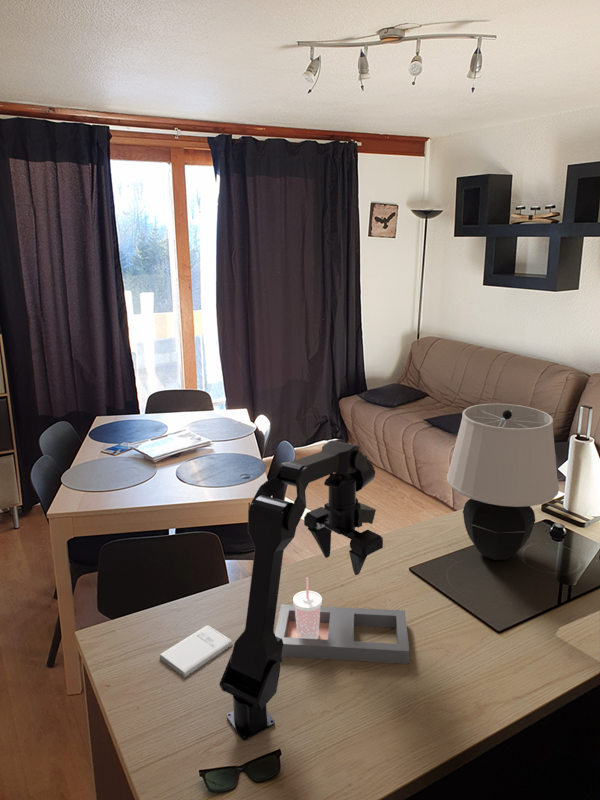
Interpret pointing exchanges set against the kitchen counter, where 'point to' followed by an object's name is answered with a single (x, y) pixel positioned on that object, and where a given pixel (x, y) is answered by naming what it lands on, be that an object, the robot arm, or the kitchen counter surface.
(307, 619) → the beverage cup
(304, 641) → the cup caddy
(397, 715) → the kitchen counter surface
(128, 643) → the kitchen counter surface
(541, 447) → the table lamp
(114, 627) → the kitchen counter surface
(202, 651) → the external hard drive
